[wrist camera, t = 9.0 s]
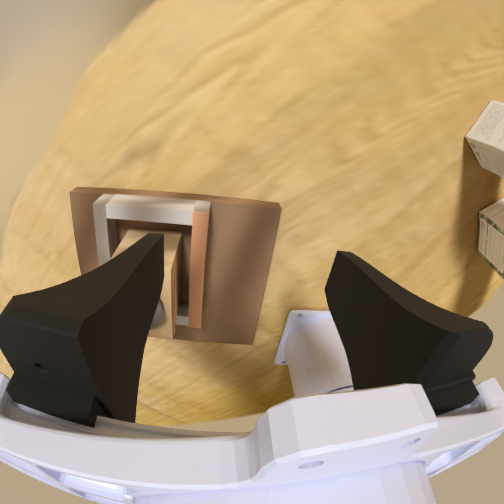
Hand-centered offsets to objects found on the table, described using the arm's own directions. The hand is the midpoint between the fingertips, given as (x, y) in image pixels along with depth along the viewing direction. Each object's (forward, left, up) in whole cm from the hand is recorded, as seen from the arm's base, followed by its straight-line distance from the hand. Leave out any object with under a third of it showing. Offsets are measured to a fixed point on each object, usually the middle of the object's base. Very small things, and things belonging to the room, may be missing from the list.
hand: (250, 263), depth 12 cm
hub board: (+5, +8, -10) cm, 14 cm away
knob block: (+6, +7, -9) cm, 13 cm away
